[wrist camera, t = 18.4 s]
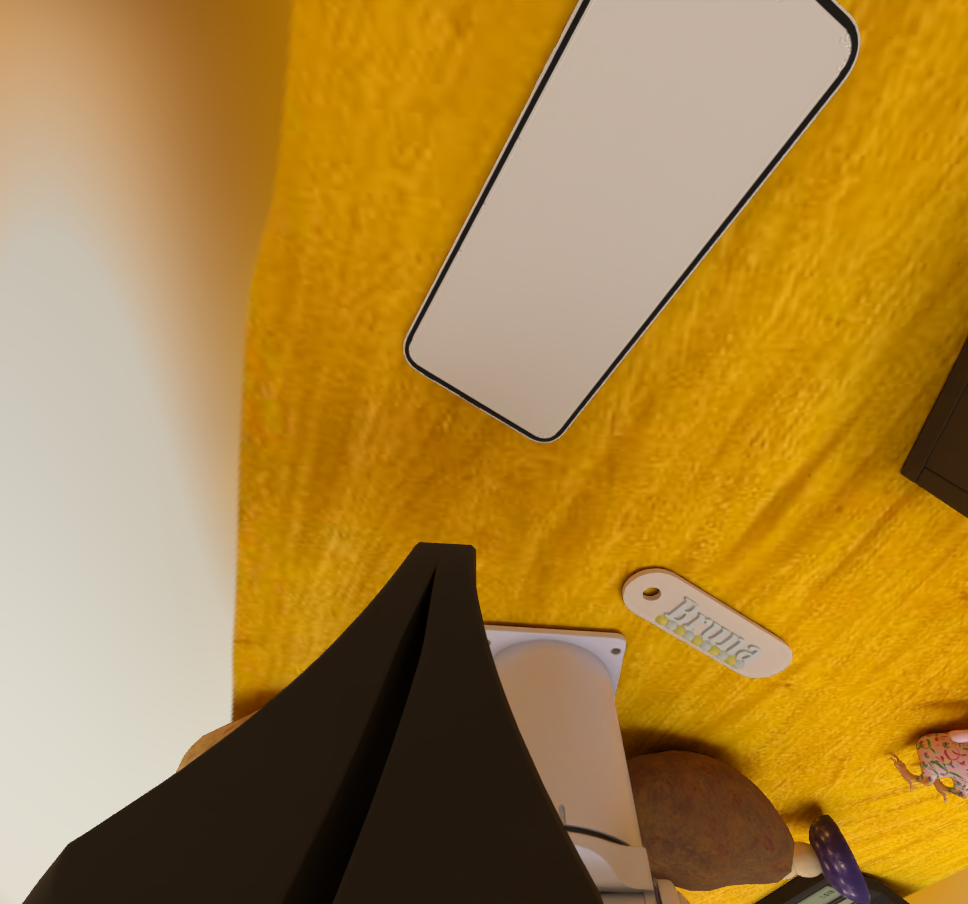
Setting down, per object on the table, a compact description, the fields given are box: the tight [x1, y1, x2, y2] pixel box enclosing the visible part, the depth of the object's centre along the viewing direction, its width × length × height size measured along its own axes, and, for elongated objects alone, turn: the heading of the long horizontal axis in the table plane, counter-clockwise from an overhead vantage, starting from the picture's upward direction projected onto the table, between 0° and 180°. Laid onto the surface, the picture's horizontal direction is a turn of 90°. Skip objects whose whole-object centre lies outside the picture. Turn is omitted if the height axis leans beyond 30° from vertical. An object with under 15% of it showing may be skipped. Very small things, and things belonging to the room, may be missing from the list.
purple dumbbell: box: [651, 815, 871, 904], centre depth 30 cm, size 5×5×17 cm
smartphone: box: [403, 0, 860, 443], centre depth 15 cm, size 7×1×15 cm
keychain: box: [622, 568, 793, 678], centre depth 23 cm, size 10×1×3 cm
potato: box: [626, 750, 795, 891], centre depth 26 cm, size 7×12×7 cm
